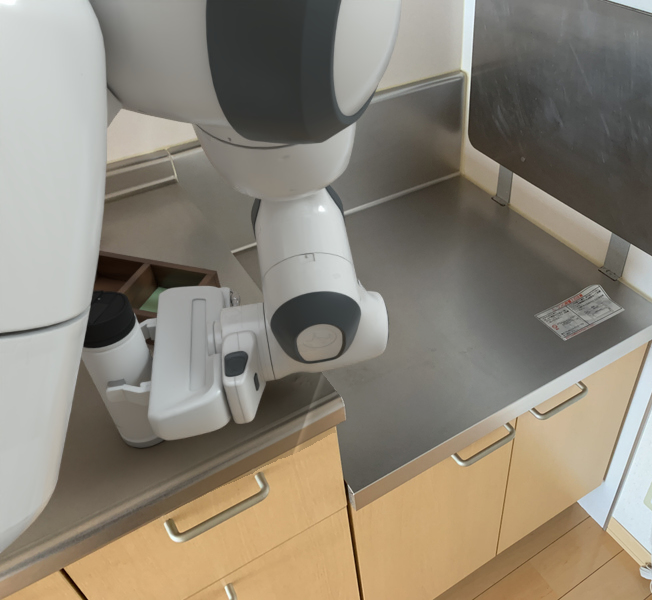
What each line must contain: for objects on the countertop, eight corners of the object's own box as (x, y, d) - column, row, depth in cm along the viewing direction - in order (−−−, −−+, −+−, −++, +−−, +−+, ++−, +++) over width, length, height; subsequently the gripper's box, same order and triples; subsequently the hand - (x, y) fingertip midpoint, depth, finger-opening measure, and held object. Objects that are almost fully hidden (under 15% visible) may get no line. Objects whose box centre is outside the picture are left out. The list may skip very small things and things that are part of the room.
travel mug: (110, 447, 71) (42, 322, 58) (137, 402, 76) (81, 278, 62) (160, 454, 70) (104, 330, 57) (185, 409, 75) (138, 285, 62)
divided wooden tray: (186, 351, 82) (176, 322, 79) (52, 324, 86) (37, 295, 83) (224, 299, 90) (216, 270, 87) (100, 276, 94) (88, 248, 91)
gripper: (235, 266, 73) (113, 283, 71) (241, 395, 58) (88, 422, 56) (243, 305, 78) (129, 322, 75) (252, 434, 63) (110, 461, 60)
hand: (111, 366), depth 66 cm, fingers closed on travel mug, 6 cm apart
